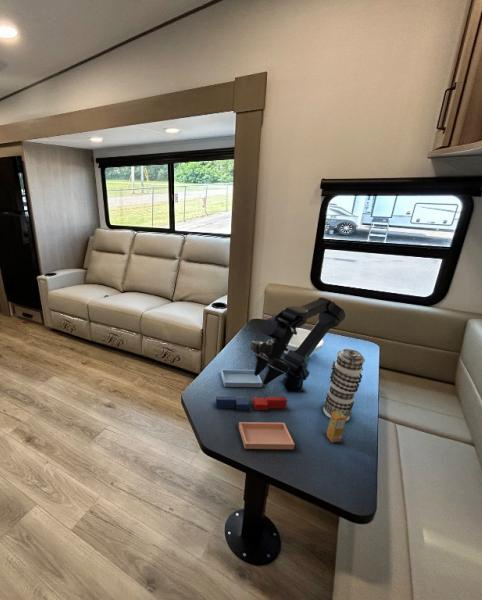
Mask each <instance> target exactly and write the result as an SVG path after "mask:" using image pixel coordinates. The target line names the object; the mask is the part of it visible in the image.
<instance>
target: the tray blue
mask: <svg viewBox="0 0 482 600" xmlns="http://www.w3.org/2000/svg"><path fill="white" fill-rule="evenodd" d="M254 373H255V369H227V368H226V369H225V368H223V369H220V378H221V380H222V383H223V387H224V388H262V387H263V385H264V384H263V379H262V378H261V375H260V374H259V375H257V376H255V375H254Z"/></svg>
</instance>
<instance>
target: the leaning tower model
mask: <svg viewBox="0 0 482 600" xmlns="http://www.w3.org/2000/svg"><path fill="white" fill-rule="evenodd" d="M365 362H366V358H365V357H364V356H363V354H362V353H361V352H359V351H358V350H356V349H352V348H344V349H341V350H339V351H337V356H336V360H335V361H332V365H331V366H332V367H331V372H330V376H329V378H330V379H329V385H330V386H329V388H328V391H327V393H326V397H325V401H324V404H323V409H322V410H323V413H324V414H325V415H326V417H328V418H331V414H332V412H334V411H341V412H342V413H343V415H344V416H346V422H347V421H349V420H350V417H351V414H352V411H353V407H354V403H355V401H354V399H355V393H357V392H358V391H359V388H360V383H361V382H362V379H363V375H362V374H361V373H362V371H363V370H364V368H363V365H364V363H365Z"/></svg>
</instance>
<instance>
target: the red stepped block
mask: <svg viewBox="0 0 482 600" xmlns="http://www.w3.org/2000/svg"><path fill="white" fill-rule="evenodd" d="M287 402H288V399H287V398H286V397H285V396H266V397H253V398H252V405H253V408H254V410H255V411H268V409H286V408H287V404H288V403H287Z"/></svg>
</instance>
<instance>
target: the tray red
mask: <svg viewBox="0 0 482 600" xmlns="http://www.w3.org/2000/svg"><path fill="white" fill-rule="evenodd" d="M238 430H239V433H240V437H241V440H242V444H243V447H244V449H245V450H252V449H253V450H295V442H294V440H293V438H292V435H291V434H290V432H289V429H288V428H287V426H286V423H285V422H260V421H259V422H258V421H257V422H255V421H251V422H250V421H249V422H247V421H239V422H238Z"/></svg>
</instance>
